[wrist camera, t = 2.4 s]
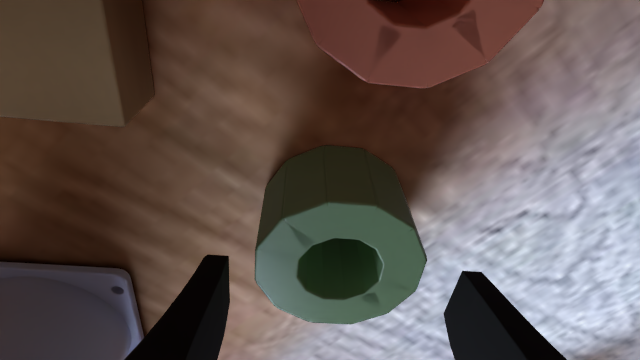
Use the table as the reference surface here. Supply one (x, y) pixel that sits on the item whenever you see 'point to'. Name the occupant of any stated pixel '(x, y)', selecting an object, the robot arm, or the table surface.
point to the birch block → (74, 61)
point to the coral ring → (414, 36)
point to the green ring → (337, 238)
